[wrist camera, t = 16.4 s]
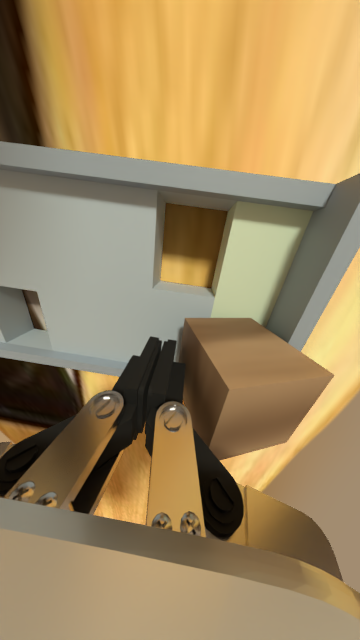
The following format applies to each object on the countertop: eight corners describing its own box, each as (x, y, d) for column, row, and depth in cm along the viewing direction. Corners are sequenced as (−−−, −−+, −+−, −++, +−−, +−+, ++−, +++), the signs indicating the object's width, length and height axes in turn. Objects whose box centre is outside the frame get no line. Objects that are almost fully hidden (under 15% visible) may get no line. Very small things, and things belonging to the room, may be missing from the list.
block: (184, 317, 9) (229, 390, 5) (250, 317, 10) (334, 375, 6) (176, 376, 11) (202, 464, 7) (233, 370, 12) (286, 442, 8)
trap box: (-114, 150, 10) (-357, 74, 6) (305, 205, 10) (403, 168, 5) (-27, 325, 16) (-115, 357, 11) (242, 368, 15) (261, 420, 11)
